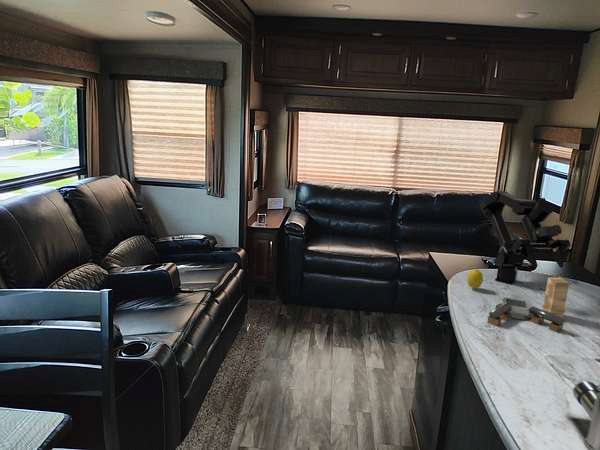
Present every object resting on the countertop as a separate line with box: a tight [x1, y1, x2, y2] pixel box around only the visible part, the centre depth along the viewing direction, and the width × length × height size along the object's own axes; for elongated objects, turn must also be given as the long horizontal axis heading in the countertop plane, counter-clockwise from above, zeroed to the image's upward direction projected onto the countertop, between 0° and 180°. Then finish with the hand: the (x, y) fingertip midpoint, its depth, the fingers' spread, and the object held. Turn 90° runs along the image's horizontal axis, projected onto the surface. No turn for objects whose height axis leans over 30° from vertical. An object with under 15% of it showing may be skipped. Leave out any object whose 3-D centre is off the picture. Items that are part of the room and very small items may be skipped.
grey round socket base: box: [494, 297, 533, 321], centre depth 150 cm, size 12×12×3 cm
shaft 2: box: [529, 305, 565, 333], centre depth 141 cm, size 10×3×4 cm, turn 30°
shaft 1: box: [486, 304, 512, 327], centre depth 143 cm, size 10×3×4 cm, turn 130°
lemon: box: [466, 268, 484, 290], centre depth 169 cm, size 6×6×8 cm
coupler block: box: [542, 277, 570, 318], centre depth 147 cm, size 5×5×12 cm
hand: (549, 267), depth 153 cm, fingers open, 9 cm apart
